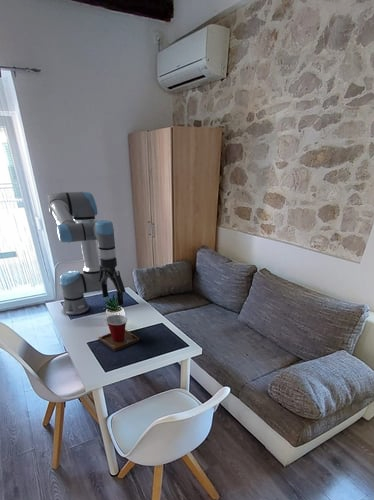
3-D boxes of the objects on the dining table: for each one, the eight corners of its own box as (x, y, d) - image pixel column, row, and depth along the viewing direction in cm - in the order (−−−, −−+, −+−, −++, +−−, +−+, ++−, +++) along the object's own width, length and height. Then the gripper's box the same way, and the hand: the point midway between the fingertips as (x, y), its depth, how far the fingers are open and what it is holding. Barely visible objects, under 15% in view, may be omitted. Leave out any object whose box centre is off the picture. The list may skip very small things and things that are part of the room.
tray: (99, 340, 164) (98, 337, 163) (123, 330, 173) (123, 328, 172) (115, 351, 155) (114, 348, 154) (139, 341, 164) (139, 338, 163)
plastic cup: (124, 345, 158) (122, 324, 152) (105, 343, 160) (101, 322, 153) (132, 335, 167) (130, 315, 160) (113, 333, 169) (110, 313, 162)
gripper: (130, 262, 138) (134, 306, 150) (100, 250, 152) (106, 291, 164) (116, 265, 133) (120, 311, 145) (86, 253, 148) (93, 295, 160)
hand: (113, 300), depth 155 cm, fingers open, 13 cm apart
